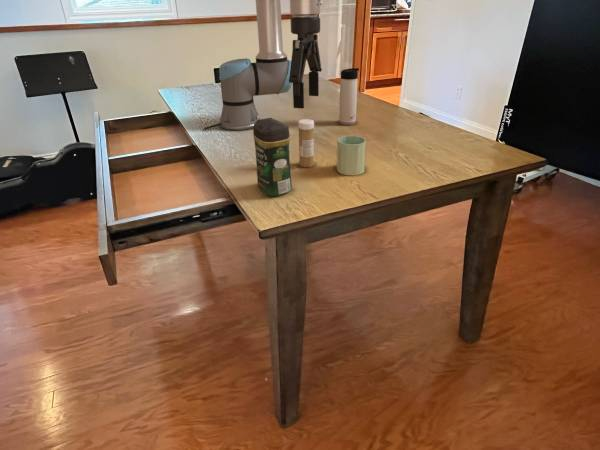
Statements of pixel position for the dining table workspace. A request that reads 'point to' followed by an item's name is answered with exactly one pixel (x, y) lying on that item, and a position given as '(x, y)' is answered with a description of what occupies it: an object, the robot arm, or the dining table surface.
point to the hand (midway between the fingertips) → (306, 101)
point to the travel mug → (348, 96)
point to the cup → (351, 155)
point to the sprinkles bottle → (306, 142)
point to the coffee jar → (272, 156)
